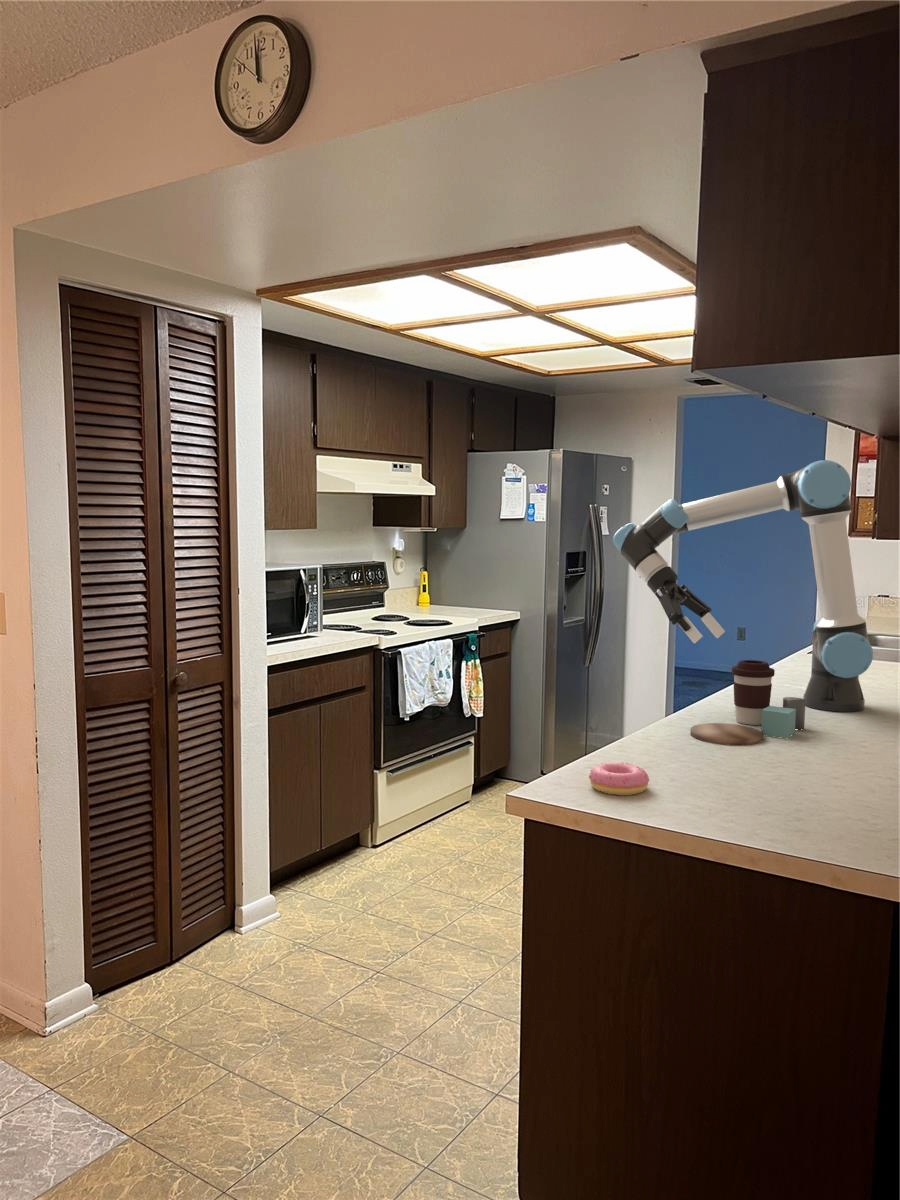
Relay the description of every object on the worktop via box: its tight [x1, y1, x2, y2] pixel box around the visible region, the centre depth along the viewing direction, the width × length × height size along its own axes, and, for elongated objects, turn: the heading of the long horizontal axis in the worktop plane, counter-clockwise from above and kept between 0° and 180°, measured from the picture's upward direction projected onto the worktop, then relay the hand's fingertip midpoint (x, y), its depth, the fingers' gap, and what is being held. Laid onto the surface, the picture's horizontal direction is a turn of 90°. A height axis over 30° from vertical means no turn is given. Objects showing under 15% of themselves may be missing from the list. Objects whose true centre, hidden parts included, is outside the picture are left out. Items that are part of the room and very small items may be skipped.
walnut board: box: [690, 722, 765, 746], centre depth 208 cm, size 16×16×1 cm
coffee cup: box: [731, 659, 776, 726], centre depth 222 cm, size 10×10×15 cm
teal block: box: [760, 705, 796, 739], centre depth 209 cm, size 6×6×6 cm
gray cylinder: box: [782, 696, 806, 731], centre depth 216 cm, size 5×5×7 cm
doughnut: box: [588, 762, 651, 796], centre depth 167 cm, size 11×11×4 cm
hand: (710, 637), depth 227 cm, fingers open, 13 cm apart
